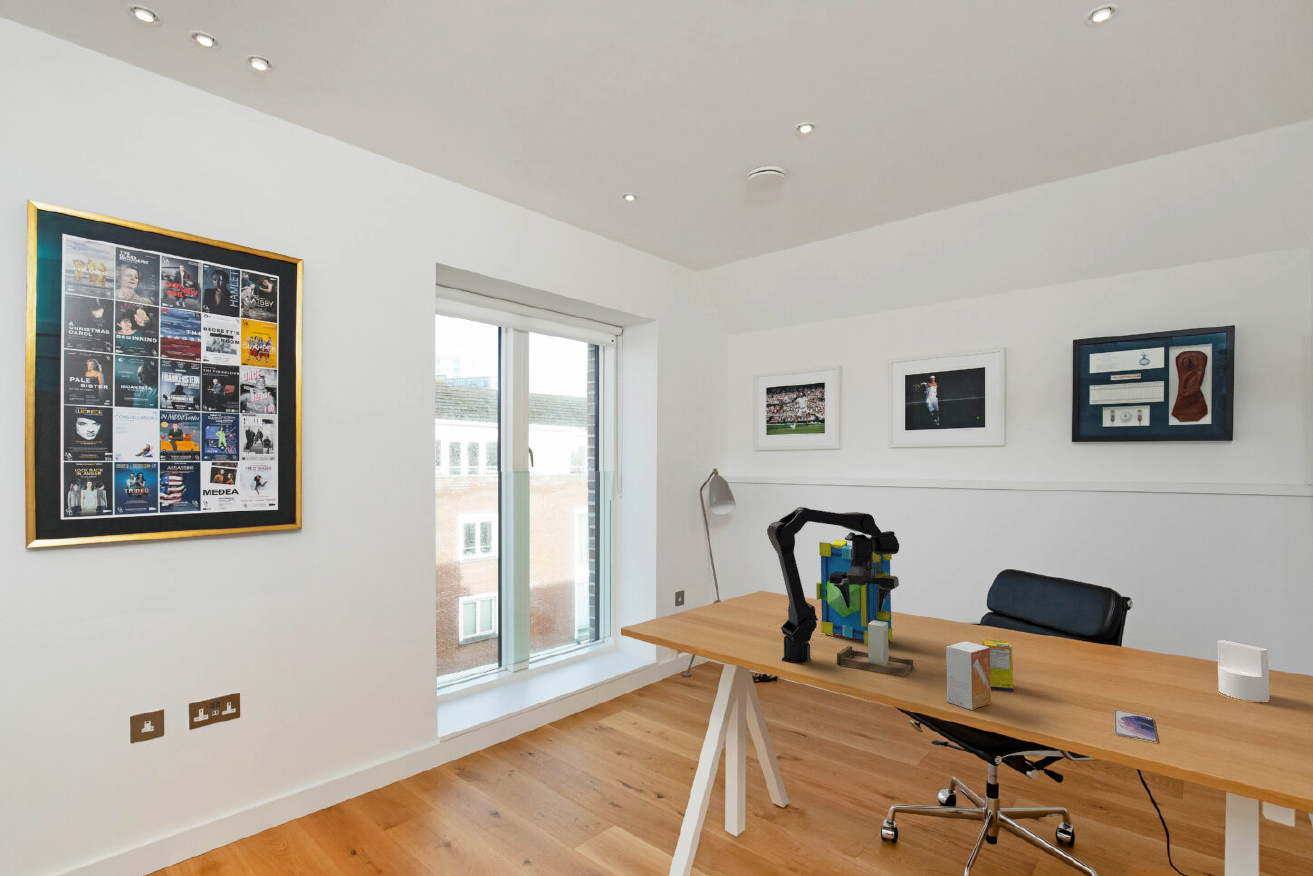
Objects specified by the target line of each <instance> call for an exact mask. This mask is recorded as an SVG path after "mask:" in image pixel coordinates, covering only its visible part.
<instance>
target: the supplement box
mask: <svg viewBox="0 0 1313 876" xmlns="http://www.w3.org/2000/svg"><path fill="white" fill-rule="evenodd" d="M981 643H982V644H981V645H983V646H987V647H990V676H991V690H995V691H996V690H998V691H1007V692H1008V691H1010V692H1014V672H1013V671H1014V668H1013V666H1014V664H1013V647H1012V645H1011V644H1010V642H1009V641H1008V640H999V639H989V638H988V639H986V638H982V641H981Z"/></svg>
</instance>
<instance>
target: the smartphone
mask: <svg viewBox="0 0 1313 876" xmlns="http://www.w3.org/2000/svg"><path fill="white" fill-rule="evenodd" d="M1113 716H1114V718H1113V720H1114V721H1113V723H1114V725H1113V726H1114V730H1115V731H1114V735H1115V734H1116V735H1115V736H1117V735H1118V736H1117V737H1121V736H1123V738H1126V737H1129V738H1128V739H1131V738H1137V739H1142V740H1147V741H1152V742H1158V743H1159V741H1158V740H1157V739H1158V734H1157V729H1156V724H1154V723H1155V720H1154V721H1153V719H1154V718H1153V717H1151V716H1146V715H1140V714H1137V713H1136V714H1135V713H1132V712H1126V711H1121V710H1114V711H1113ZM1148 719H1149V720H1148ZM1150 719H1151V720H1150ZM1155 729H1156V730H1155Z"/></svg>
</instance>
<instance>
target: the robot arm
mask: <svg viewBox="0 0 1313 876" xmlns="http://www.w3.org/2000/svg"><path fill="white" fill-rule="evenodd" d="M809 522H811V523H816V524H817V523H818V524H825V525H831V526H832V525H833V526H840V527H842V528H844V529H848V530H850V532H849V533H848V535H846V536H845V537H844V541H847V542H848V541H849V542H851V546H852V559H853V560H852V562H851V567H850V568H849V570H848V572H837V571H836V572H834V573H831V574H830V576H829V583H833V584H834V586H835V587H838V589H839V590H840V591H841V593H842V595H843V598H844V601H845V603H846V606H847V608H850V591H849V584H850V585H853V584H855V585H859V586H863V585H865V583H869V584H880V586H881V588H880V589H879V593H880V596H879V612H881V611H882V608H883V605H884V603H885V600H886V597H887V595H888V593H889V591H892V590H895V589H897V588H898V587H899V586H900V583H899V582H900V581H899V577H897V575H890V576H888V575H884V576H882V577H880V578H875V577H874V573H873V562H874V559H873V552H874V553H875V554H876V555H889V554H892V555H896V554H898V553H899V550H900V543H899V540H898V537H897V536H896V532H895V531H892V530H887V531H886V530H885V531H881V530H880V528H879V527H878V526H877V524H876V520H875V518H874V516H873V515H872V514H870V513H865V512H858V511H853V512H851V511H850V512H841V513H840V512H839V513H838V512H832V511H826V510H818V509H811V508H808V507H805V506H804V507H802V506H799V507H796V508H795V509H794V510H793V511H792V512H790V513H788V514H787V515H784V516H783V517H781V518H780V519H779V520H778V521H773V522H772V523H770V524H769V525H768V528H767V529H766V530H767V531H766V532H767V536H768V539H769V541H770V544H771V545H772V547H773V549H774V551H775V552H776V554H777V556H778V560H779V564H780V569H781V573H782V577H783V580H784V585H785V589H786V593H787V597H788V602H789V603H788V608H787V609H788V610H787V615H788V619H787V620H786V621H785V622H784V623H783V625H782V626H781V627H780V629H781V633H782V635H784V636H783V657H781V661H784V660H785V662H791V663H794V662H796V664H799V665H800V664H802V665H803V663H804V664H805V663H806V662H808V661H810V660H812V656H811V644H810V643H809V642H810V641H811V639H812V635H813V632H814V631H815V629H816V628H817V625H818V623H817V621H819V618H818V617H817V615H816V608H815V605H813V604H810V603H808V602H807V600H806V598H805V594H804V593H805V592H804V589H803V585H802V580H801V577H800V574H799V568H798V564H797V560H796V556H795V547H796V537H795V536H796V535H797V534H798V533H799V532H800V531H801V530H802V528H803V527H804V526H805V525H806V524H807V523H809ZM851 531H853V532H851ZM855 532H857V533H861V534H856V533H855ZM866 535H867V536H866ZM868 536H869V537H868Z"/></svg>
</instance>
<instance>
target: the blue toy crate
mask: <svg viewBox="0 0 1313 876" xmlns="http://www.w3.org/2000/svg"><path fill="white" fill-rule="evenodd" d="M819 556H820V582H819V581H818V582H816V583H815V586H816V601H819V600H821V620H820V624H821V625H820V629H821V632H820V634H821V633H825V634H828V635H831V636H833V637H835V635H837V634H838V635H842V636H843V637H844V638H849V639H853V640H855V639H858V640H863V645H864V644H867V645H868V624H869V623H870V622H872V621H873V620H874V621H881V622H888V642H891V643H892V642H893V628H892V603H891V602H892V599H891V597H892V595H891V593H892V592H891V591H892V590H891V591H889V593H888V595H887V597H886V600H885V603H884V605H883V608H882V611H881V612H879V596H880V593H879V589H880V588H881V586H880V584H869V583H865V585H863V586H859V585H855V584H853V585H850V584H849V591H850V608H847V606H846V603H845V601H844V598H843V595H842V593H841V591H840V590H839V589H838V587H835V586H834V584H833V583H829V576H830V574H831V573H834V572H836V571H837V572H848V570H849V568H850V567H851V562H852V560H853V559H852V545H850V544H848V540H842V539H835V541H834V542H833V543H831V542H821V541H819ZM892 556H893V554H889V555H876V554H875V553H874V552H873V559H874V562H873V573H874V577H875V578H880V577H882V576H884V575H888V576H891V560H893V558H892ZM867 645H866V646H867Z"/></svg>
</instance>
